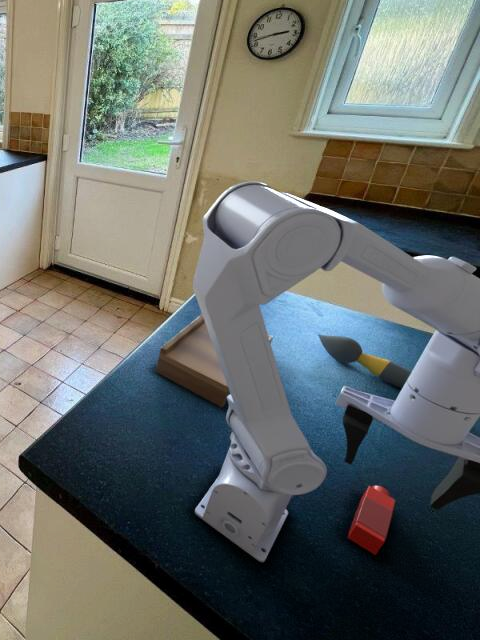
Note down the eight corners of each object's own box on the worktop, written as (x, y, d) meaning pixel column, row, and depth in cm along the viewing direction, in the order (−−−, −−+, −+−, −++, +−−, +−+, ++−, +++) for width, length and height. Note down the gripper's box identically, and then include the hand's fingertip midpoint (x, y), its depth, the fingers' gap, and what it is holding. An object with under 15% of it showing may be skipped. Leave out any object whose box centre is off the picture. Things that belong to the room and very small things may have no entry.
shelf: (222, 407, 71) (231, 382, 68) (155, 371, 79) (160, 347, 77) (266, 354, 83) (275, 331, 81) (204, 328, 92) (211, 306, 89)
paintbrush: (451, 397, 72) (466, 375, 70) (447, 411, 70) (462, 388, 68) (314, 343, 87) (323, 323, 85) (306, 352, 84) (315, 332, 82)
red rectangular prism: (375, 555, 49) (385, 542, 48) (346, 537, 51) (355, 524, 50) (389, 505, 55) (398, 492, 54) (363, 491, 57) (371, 477, 56)
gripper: (551, 414, 42) (481, 502, 47) (363, 346, 52) (324, 426, 57) (556, 453, 38) (478, 544, 43) (350, 371, 48) (310, 454, 53)
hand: (389, 479), depth 50 cm, fingers open, 7 cm apart
